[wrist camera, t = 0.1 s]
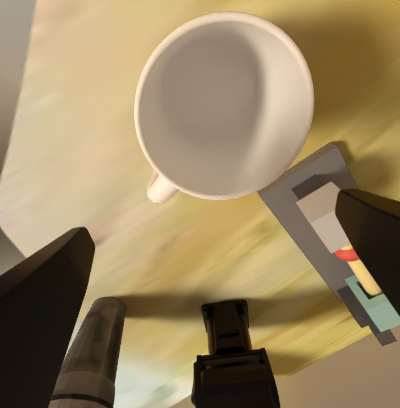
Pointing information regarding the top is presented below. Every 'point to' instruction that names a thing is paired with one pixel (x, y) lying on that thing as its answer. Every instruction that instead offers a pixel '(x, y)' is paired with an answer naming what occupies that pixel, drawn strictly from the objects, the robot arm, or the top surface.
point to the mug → (222, 107)
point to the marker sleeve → (375, 306)
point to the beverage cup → (92, 359)
